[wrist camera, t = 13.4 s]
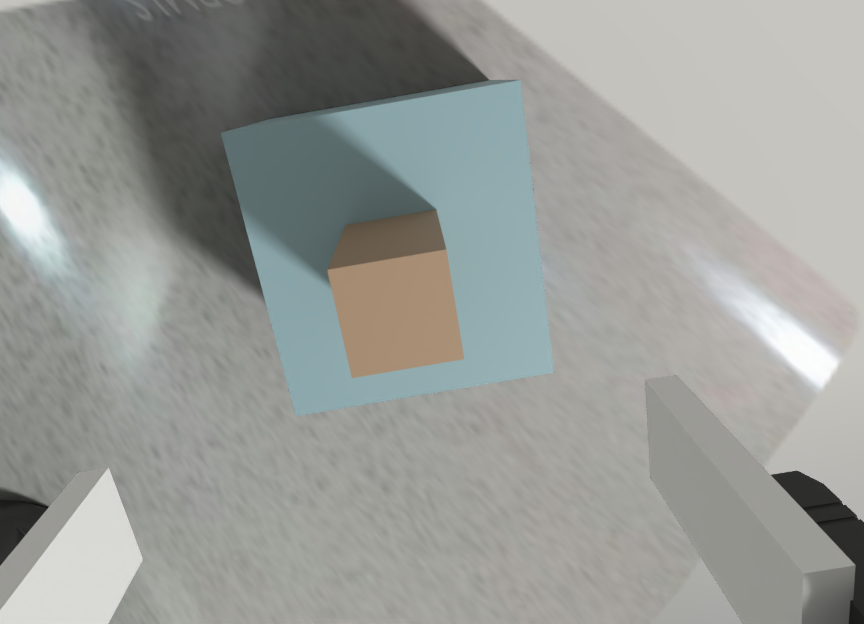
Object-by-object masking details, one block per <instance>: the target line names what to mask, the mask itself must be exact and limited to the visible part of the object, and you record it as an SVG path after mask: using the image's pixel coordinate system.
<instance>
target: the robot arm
mask: <svg viewBox="0 0 864 624" xmlns="http://www.w3.org/2000/svg"><path fill="white" fill-rule="evenodd" d="M645 390H646V408H647V426H648V443H649V461H650V478H651V479H652V481H653V482H654V484H655V485H656V487H657V489H658V490H659V492H660V493H661V495H662V497H663V498H664V500H665V501H666V503H667V504H668V506H669V508H670V509H671V511H672V512H673V514H674V516H675V517H676V519H677V520H678V522H679V524H680V525H681V527H682V528H683V530H684V531H685V533H686V535H687V536H688V538H689V539H690V541H691V543H692V544H693V546H694V547H695V549H696V550H697V552H698V554H699V555H700V557H701V558H702V560H703V562H704V563H705V565H706V566H707V568H708V570H709V571H710V573H711V574H712V576H713V577H714V579H715V581H716V582H717V584H718V585H719V587H720V588H721V590H722V592H723V593H724V595H725V596H726V598H727V600H728V601H729V603H730V604H731V606H732V608H733V609H734V611H735V612H736V614H737V615H738V617H739V619H740V620H741V622H742V623H743V624H864V522H863V521H862V520H861V519H860V520H858V518H857V515H856V514H854V513H853V512H852V511H851V510H850V509H849V508H848V507H847V506H846V505H843V504H842V501H841V500H840V499H839V498H838V497H837V496H836V495H835V494H833V493H832V492H831V491H830V490H829V489H828V488H827V487H826V486H825V485H824V484H822V483H820V482H819V481H817V480H815V479H813V478H810V477H809V476H807V475H805V474H803V473H801V472H799V471H792V472H786V473H780V474H773V475H770V474H769V473H768V472H767V471H766V470H765V468H764V467H763V466H762V465H761V464H760V463H759V462H758V461H757V460H756V459H755V458H754V457H753V456H752V455H751V454H750V452H749V451H748V450H747V449H746V448H745V447H744V446H743V445H742V444H741V443H740V442H739V441H738V440H737V439H736V438H735V437H734V435H733V434H732V433H731V432H730V431H729V430H728V429H727V428H726V427H725V426H724V425H723V424H722V423H721V422H720V421H719V420H718V418H717V417H716V416H715V415H714V414H713V413H712V412H711V411H710V410H709V409H708V408H707V407H706V406H705V405H704V404H703V403H702V401H701V400H700V399H699V398H698V397H697V396H696V395H695V394H694V393H693V392H692V391H691V390H690V389H689V388H688V387H687V386H686V384H685V383H684V382H683V381H682V380H681V379H680V378H679V377H678V376H677V375H673V376H667V377H661V378H654V379H648V380H645ZM142 560H143V558H142V556H141V553H140V550H139V548H138V545H137V542H136V540H135V537H134V534H133V532H132V529H131V526H130V524H129V521H128V518H127V516H126V513H125V510H124V508H123V505H122V502H121V500H120V497H119V494H118V491H117V489H116V486H115V483H114V481H113V478H112V475H111V473H110V470H109V468H103V469H97V470H90V471H84V472H78V473H77V474H76V475H75V476H74V478H73V479H72V480H71V481H70V482H69V484H68V485H67V486H66V487H65V488H64V490H63V491H62V492H61V493H60V494H59V496H58V497H57V498H56V499H55V500H54V502H53V503H52V504H51V505H50V506H49V508H48V509H47V508H44V507H41V506H38V505H34V504H30V503H25V502H17V501H0V624H108V623H109V621H110V619H111V617H112V615H113V614H114V612H115V610H116V608H117V606H118V604H119V603H120V601H121V599H122V597H123V595H124V593H125V591H126V590H127V588H128V586H129V584H130V582H131V580H132V579H133V577H134V575H135V573H136V571H137V569H138V567H139V566H140V564H141V562H142Z"/></svg>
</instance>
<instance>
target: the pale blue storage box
mask: <svg viewBox="0 0 864 624" xmlns="http://www.w3.org/2000/svg"><path fill="white" fill-rule="evenodd" d="M221 136H222V140H223V144H224V148H225V151H226V155H227V159H228V163H229V167H230V170H231V174H232V178H233V182H234V185H235V189H236V193H237V197H238V200H239V204H240V208H241V212H242V216H243V219H244V223H245V227H246V231H247V234H248V238H249V242H250V246H251V250H252V253H253V257H254V261H255V265H256V268H257V272H258V276H259V280H260V283H261V287H262V291H263V295H264V299H265V302H266V306H267V310H268V314H269V317H270V321H271V325H272V329H273V332H274V336H275V340H276V344H277V348H278V351H279V355H280V359H281V363H282V366H283V370H284V374H285V378H286V382H287V385H288V389H289V393H290V397H291V400H292V404H293V408H294V412H295V415H296V416H299V415H305V414H311V413H317V412H323V411H329V410H335V409H341V408H347V407H353V406H359V405H365V404H371V403H377V402H382V401H388V400H394V399H400V398H406V397H412V396H418V395H424V394H430V393H436V392H442V391H448V390H454V389H460V388H466V387H472V386H478V385H483V384H489V383H495V382H501V381H507V380H513V379H519V378H525V377H531V376H537V375H543V374H549V373H554V368H553V359H552V351H551V342H550V333H549V325H548V316H547V307H546V298H545V290H544V281H543V272H542V264H541V255H540V246H539V237H538V229H537V220H536V211H535V203H534V194H533V185H532V176H531V168H530V159H529V150H528V142H527V133H526V124H525V115H524V107H523V98H522V89H521V81H520V80H488V81H482V82H477V83H471V84H465V85H460V86H454V87H448V88H443V89H437V90H431V91H426V92H420V93H414V94H409V95H403V96H397V97H392V98H386V99H380V100H375V101H369V102H363V103H358V104H352V105H346V106H341V107H335V108H329V109H324V110H318V111H312V112H307V113H301V114H295V115H290V116H284V117H278V118H273V119H268V120H264V121H261V122H257V123H254V124H250V125H247V126H243V127H240V128H236V129H233V130H229V131H225V132H222V133H221Z"/></svg>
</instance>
